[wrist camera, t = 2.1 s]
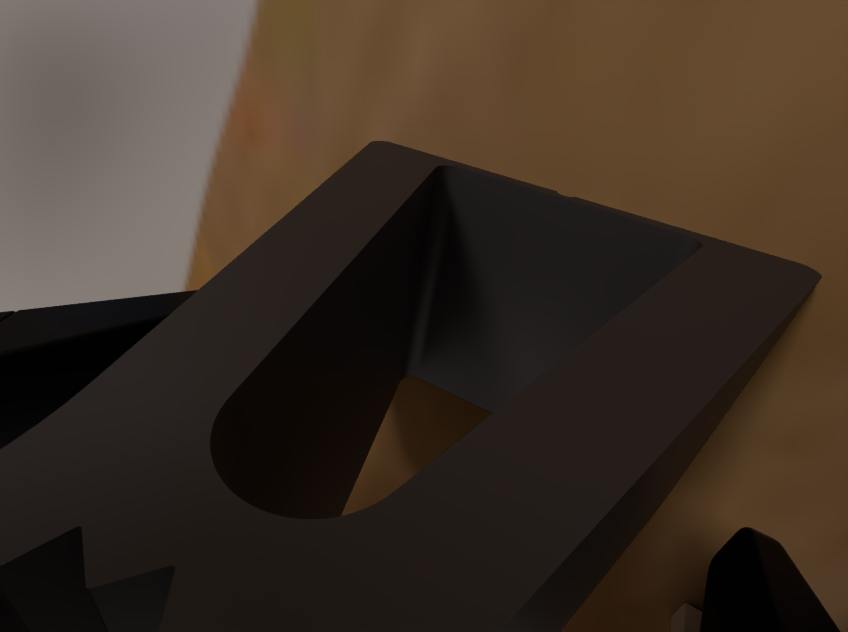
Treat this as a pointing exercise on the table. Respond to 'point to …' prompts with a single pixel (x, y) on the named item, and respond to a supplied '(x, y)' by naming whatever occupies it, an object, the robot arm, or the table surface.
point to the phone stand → (367, 405)
